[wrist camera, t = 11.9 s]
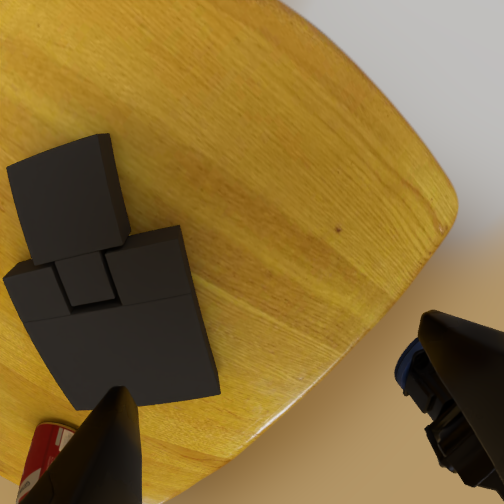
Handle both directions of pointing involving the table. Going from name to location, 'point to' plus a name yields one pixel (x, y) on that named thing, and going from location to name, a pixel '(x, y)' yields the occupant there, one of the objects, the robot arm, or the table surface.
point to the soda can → (43, 453)
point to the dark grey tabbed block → (73, 213)
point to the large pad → (122, 326)
